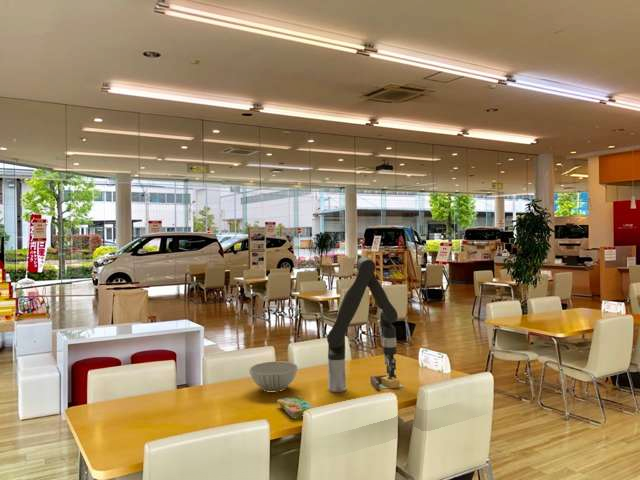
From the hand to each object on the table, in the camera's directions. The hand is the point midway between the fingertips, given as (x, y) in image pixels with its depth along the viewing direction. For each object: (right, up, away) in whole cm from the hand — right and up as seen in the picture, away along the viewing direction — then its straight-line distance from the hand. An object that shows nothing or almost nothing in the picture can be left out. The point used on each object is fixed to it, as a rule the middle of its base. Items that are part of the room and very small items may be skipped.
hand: (390, 374), depth 280 cm
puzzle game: (-51, -9, -35) cm, 62 cm away
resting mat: (0, -6, 0) cm, 6 cm away
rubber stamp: (0, -6, 0) cm, 6 cm away
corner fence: (-2, -6, 0) cm, 6 cm away
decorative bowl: (-64, -8, 0) cm, 65 cm away
